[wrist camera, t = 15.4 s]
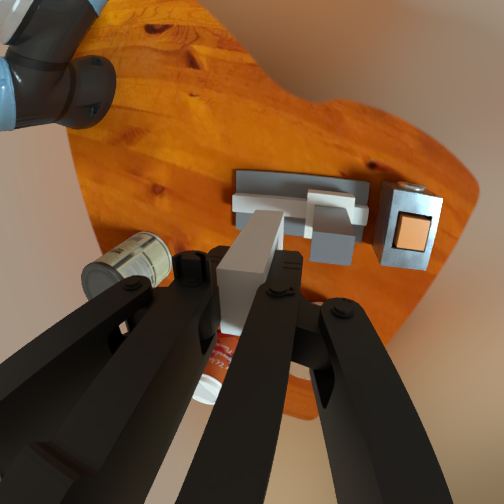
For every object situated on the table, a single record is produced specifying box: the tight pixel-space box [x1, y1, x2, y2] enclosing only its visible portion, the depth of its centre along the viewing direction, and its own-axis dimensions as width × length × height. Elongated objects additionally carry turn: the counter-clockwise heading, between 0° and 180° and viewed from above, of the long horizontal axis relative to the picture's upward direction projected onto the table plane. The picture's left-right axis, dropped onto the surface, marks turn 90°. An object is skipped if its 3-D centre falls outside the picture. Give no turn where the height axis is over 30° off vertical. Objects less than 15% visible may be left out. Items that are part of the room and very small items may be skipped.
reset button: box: [393, 211, 431, 251], centre depth 32 cm, size 4×4×4 cm
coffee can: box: [81, 231, 172, 301], centre depth 44 cm, size 10×10×14 cm
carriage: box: [304, 189, 356, 266], centre depth 31 cm, size 6×6×14 cm
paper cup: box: [192, 332, 239, 404], centre depth 48 cm, size 8×8×14 cm
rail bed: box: [232, 170, 370, 243], centre depth 38 cm, size 9×19×3 cm, turn 89°
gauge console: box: [372, 180, 443, 270], centre depth 34 cm, size 11×7×7 cm, turn 179°
